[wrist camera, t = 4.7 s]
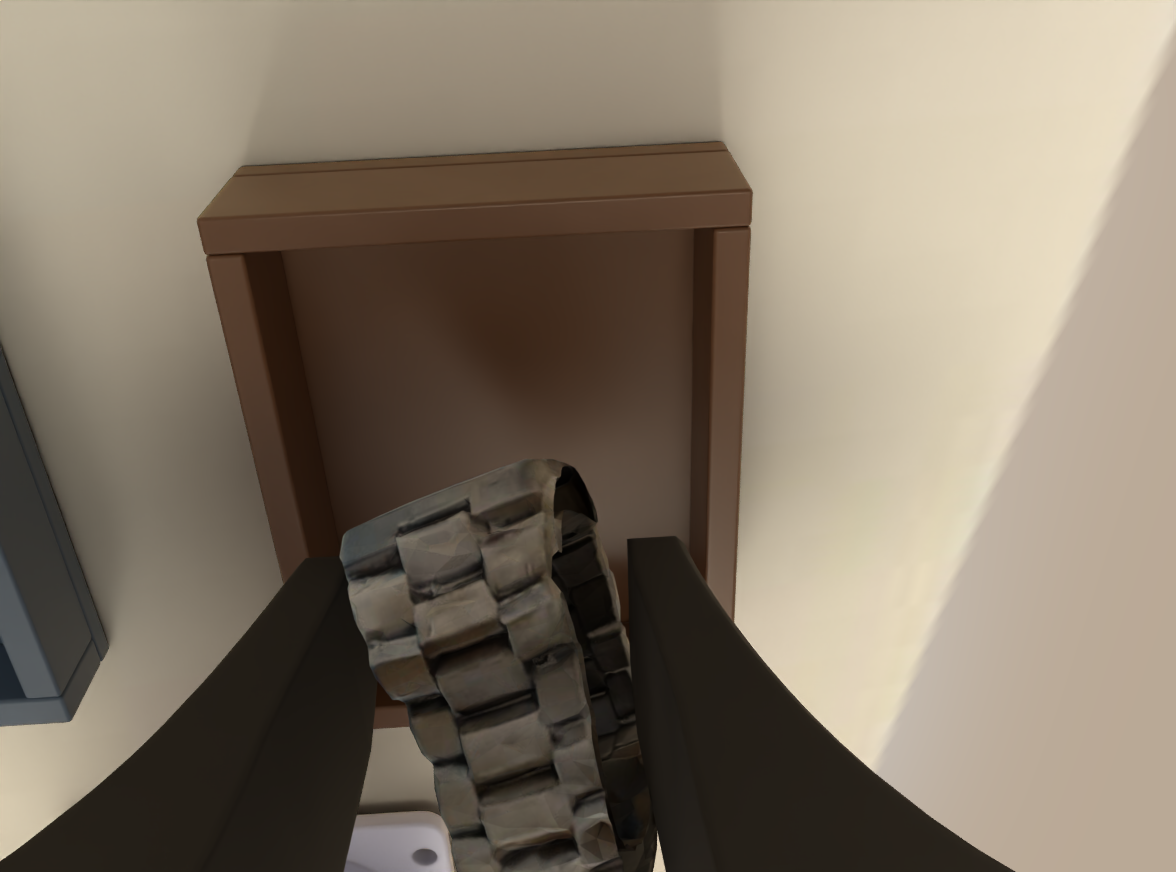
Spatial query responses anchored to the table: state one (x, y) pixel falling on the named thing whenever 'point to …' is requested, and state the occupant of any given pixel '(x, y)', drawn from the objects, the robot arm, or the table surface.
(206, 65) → the table surface
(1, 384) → the bottle tray
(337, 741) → the robot arm
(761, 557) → the table surface
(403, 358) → the watch tray
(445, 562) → the wristwatch
